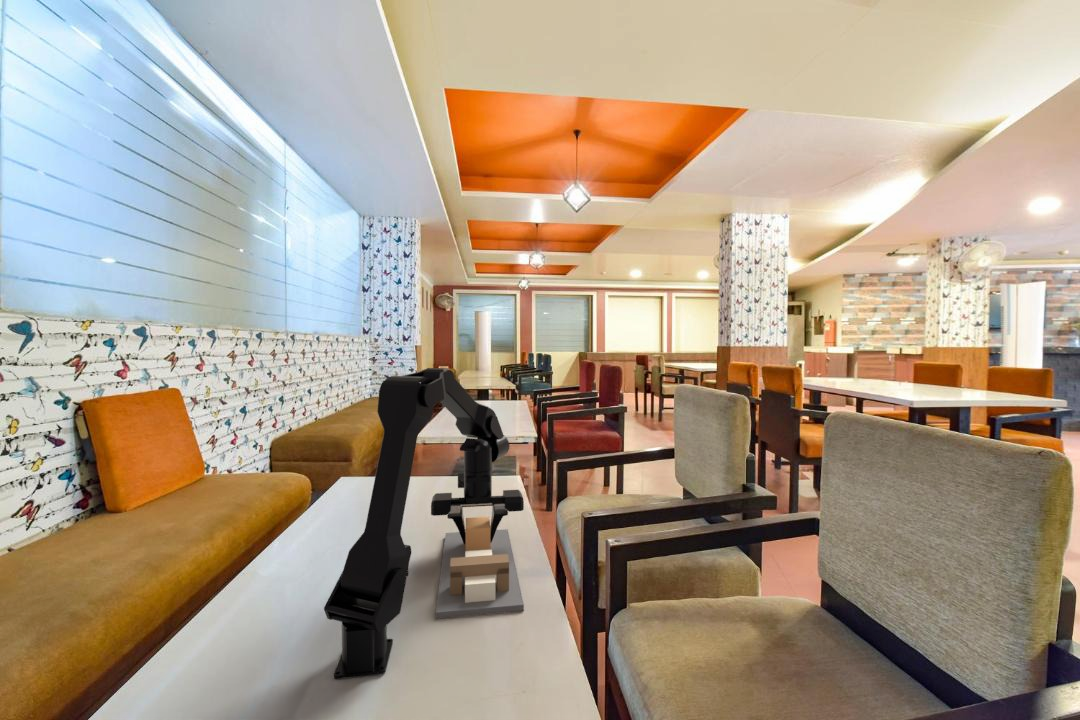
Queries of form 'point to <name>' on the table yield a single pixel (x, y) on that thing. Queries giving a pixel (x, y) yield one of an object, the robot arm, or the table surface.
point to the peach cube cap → (477, 533)
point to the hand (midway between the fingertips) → (477, 542)
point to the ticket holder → (478, 578)
